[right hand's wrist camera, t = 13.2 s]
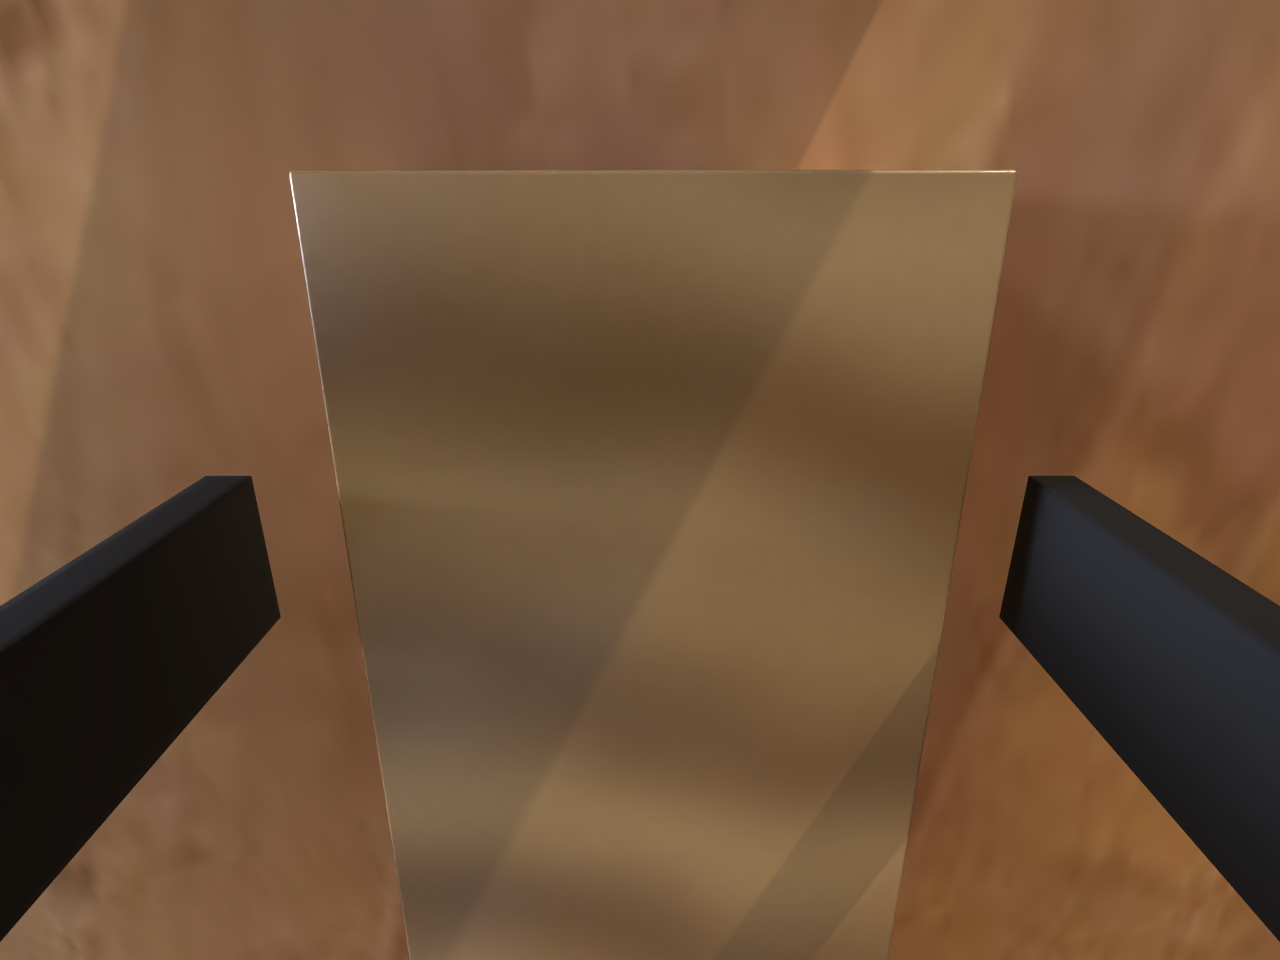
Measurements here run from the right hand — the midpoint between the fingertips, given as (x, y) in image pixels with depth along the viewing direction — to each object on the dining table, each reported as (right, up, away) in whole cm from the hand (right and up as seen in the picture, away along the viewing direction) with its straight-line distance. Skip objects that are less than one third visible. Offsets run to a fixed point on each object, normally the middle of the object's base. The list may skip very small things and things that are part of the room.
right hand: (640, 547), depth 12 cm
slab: (0, -23, +15) cm, 27 cm away
